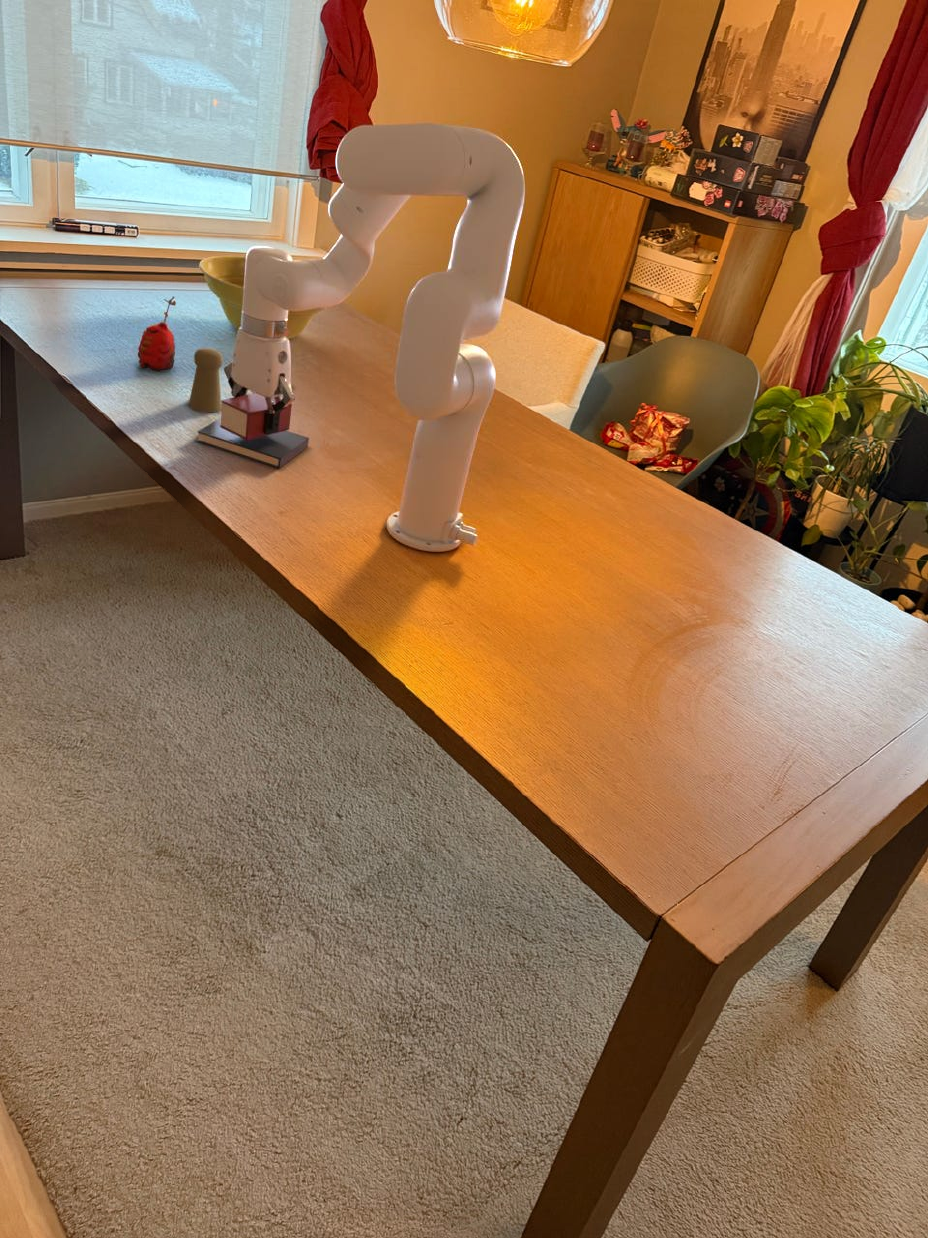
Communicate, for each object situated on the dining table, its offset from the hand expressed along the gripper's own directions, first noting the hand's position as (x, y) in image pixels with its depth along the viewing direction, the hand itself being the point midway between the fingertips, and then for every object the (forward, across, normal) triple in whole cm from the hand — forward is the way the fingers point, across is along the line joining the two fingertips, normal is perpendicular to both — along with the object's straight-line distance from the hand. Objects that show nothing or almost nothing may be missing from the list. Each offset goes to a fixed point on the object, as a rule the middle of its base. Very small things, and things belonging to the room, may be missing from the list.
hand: (255, 424), depth 163 cm
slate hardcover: (+4, 0, 0) cm, 4 cm away
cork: (+4, +18, -5) cm, 19 cm away
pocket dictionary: (+1, 0, 0) cm, 1 cm away
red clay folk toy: (+4, +37, -10) cm, 39 cm away
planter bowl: (+3, +47, -51) cm, 69 cm away
